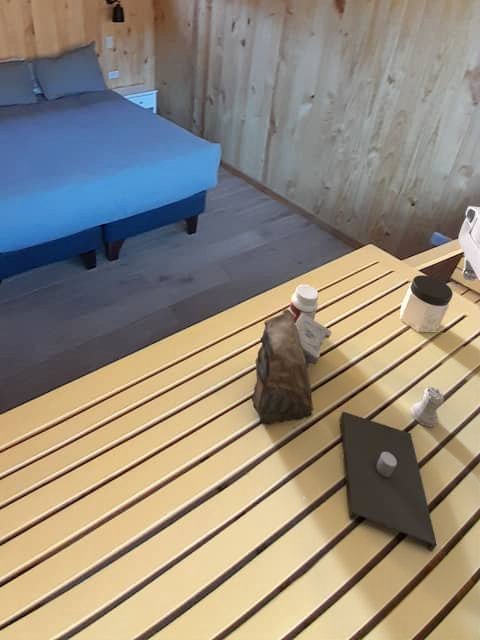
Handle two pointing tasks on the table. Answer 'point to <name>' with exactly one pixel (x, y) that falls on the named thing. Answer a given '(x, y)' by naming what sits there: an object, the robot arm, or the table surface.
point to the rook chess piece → (428, 407)
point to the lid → (384, 477)
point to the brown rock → (282, 373)
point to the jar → (425, 303)
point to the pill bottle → (304, 302)
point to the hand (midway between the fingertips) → (476, 294)
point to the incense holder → (311, 337)
